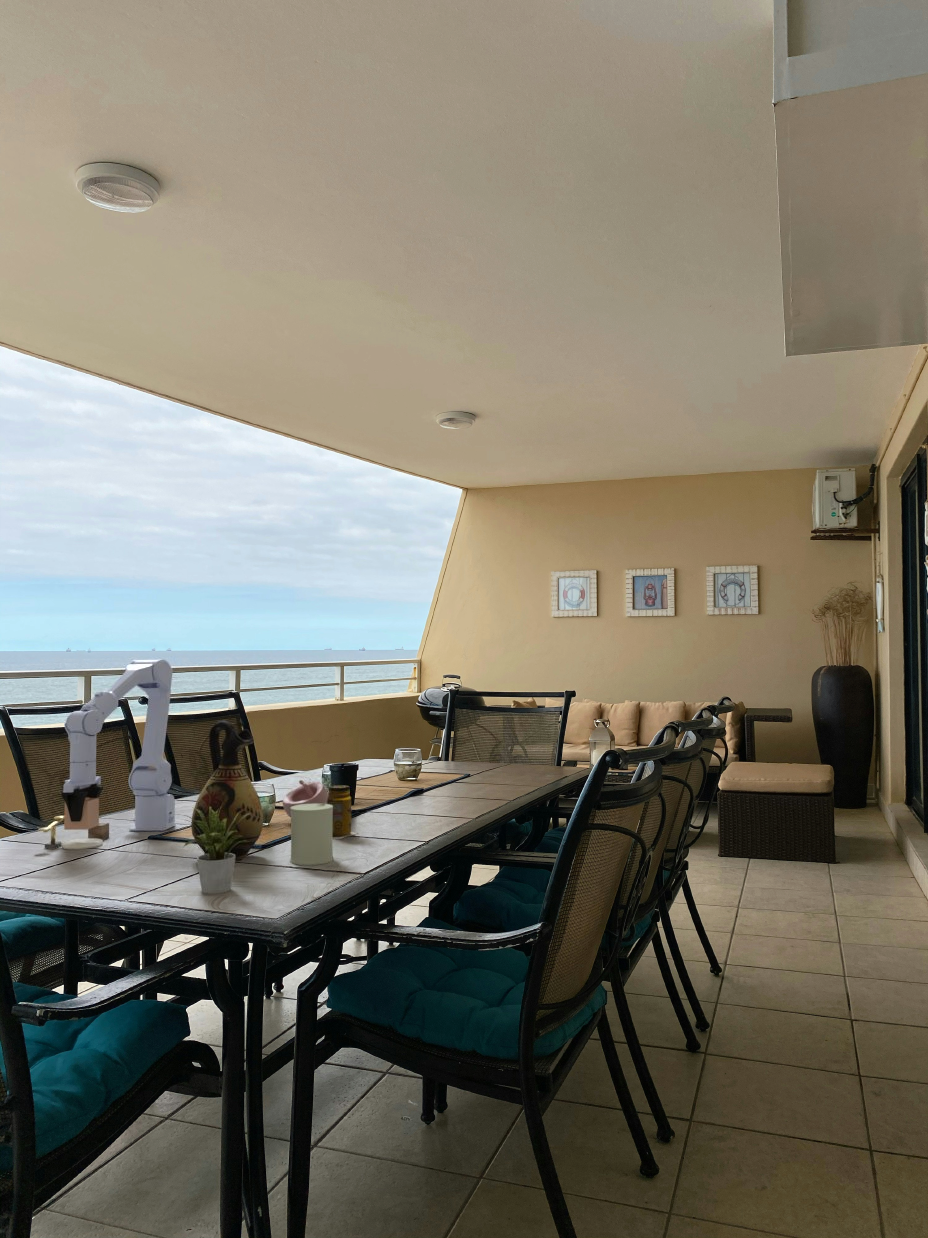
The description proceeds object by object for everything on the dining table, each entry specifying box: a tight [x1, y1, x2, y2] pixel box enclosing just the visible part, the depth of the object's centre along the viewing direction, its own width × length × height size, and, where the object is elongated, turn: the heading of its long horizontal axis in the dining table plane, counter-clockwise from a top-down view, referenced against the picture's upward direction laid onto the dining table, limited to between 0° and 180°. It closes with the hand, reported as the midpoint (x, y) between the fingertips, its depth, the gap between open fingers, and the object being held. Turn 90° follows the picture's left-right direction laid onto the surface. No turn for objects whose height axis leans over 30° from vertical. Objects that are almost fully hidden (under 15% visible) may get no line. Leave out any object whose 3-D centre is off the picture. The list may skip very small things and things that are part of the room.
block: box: [87, 822, 110, 841], centre depth 216 cm, size 4×4×4 cm
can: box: [289, 803, 334, 866], centre depth 190 cm, size 9×9×12 cm
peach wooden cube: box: [63, 797, 100, 831], centre depth 208 cm, size 6×6×7 cm
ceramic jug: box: [190, 719, 264, 862], centre depth 194 cm, size 17×15×30 cm
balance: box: [38, 815, 64, 849], centre depth 206 cm, size 10×3×6 cm, turn 177°
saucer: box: [60, 837, 104, 850], centre depth 208 cm, size 9×9×1 cm
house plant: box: [173, 804, 251, 895], centre depth 166 cm, size 14×14×16 cm
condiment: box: [327, 784, 358, 840], centre depth 218 cm, size 7×8×12 cm
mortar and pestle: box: [282, 779, 329, 819], centre depth 236 cm, size 12×12×11 cm
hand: (82, 819), depth 208 cm, fingers closed on peach wooden cube, 6 cm apart
